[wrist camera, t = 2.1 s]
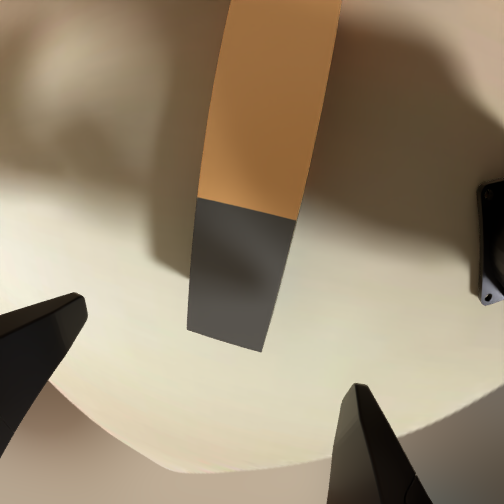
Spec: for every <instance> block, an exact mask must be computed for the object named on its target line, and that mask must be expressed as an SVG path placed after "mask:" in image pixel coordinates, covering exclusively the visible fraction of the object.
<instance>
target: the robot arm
mask: <svg viewBox="0 0 504 504" xmlns="http://www.w3.org/2000/svg"><path fill="white" fill-rule="evenodd" d="M487 190H489V195H488V197H487V198H485V192H486V191H487ZM477 200H478V212H479V229H480V277H479V295H478V297H479V300H480V301H481V303H482V304H483V305H485V306H486V305H490V304H493V303H496V302H498V301H501V300H504V178H500V179H496V180H491V181H487V182H483V183H481V184H480V185H479V187H478V190H477ZM487 294H489V295H488V296H487V297H486V295H487ZM87 318H88V312H87V308H86V302H85V298H84V297H83V296H82V295H80V294H78V293H75V292H73V293H70V294H66V295H63V296H60V297H57V298H53V299H50V300H47V301H44V302H40V303H37V304H34V305H31V306H27V307H24V308H21V309H18V310H15V311H11V312H8V313H5V314H2V315H0V458H1V456H2V454H3V452H4V450H5V449H6V447H7V445H8V443H9V442H10V440H11V438H12V436H13V435H14V432H15V431H16V429H17V428H18V426H19V424H20V423H21V421H22V419H23V418H24V416H25V414H26V413H27V411H28V410H29V408H30V407H31V405H32V404H33V402H34V400H35V399H36V397H37V396H38V394H39V393H40V391H41V390H42V388H43V387H44V385H45V384H46V382H47V381H48V380H49V378H50V377H51V375H52V374H53V372H54V371H55V369H56V368H57V367H58V365H59V364H60V362H61V361H62V360H63V358H64V357H65V355H66V354H67V352H68V351H69V349H70V348H71V346H72V344H73V342H74V341H75V339H76V337H77V336H78V334H79V332H80V331H81V329H82V327H83V326H84V324H85V322H86V321H87ZM327 504H433V503H432V501H431V500H430V498H429V496H428V495H427V493H426V491H425V489H424V487H423V486H422V484H421V482H420V480H419V478H418V476H417V475H416V472H415V471H414V469H413V467H412V465H411V463H410V461H409V459H408V457H407V455H406V454H405V452H404V450H403V448H402V446H401V444H400V443H399V441H398V439H397V437H396V435H395V433H394V432H393V430H392V428H391V426H390V424H389V423H388V421H387V419H386V417H385V415H384V414H383V412H382V410H381V408H380V406H379V405H378V403H377V401H376V399H375V398H374V396H373V394H372V392H371V391H370V389H369V387H368V386H367V385H365V384H359V383H354V384H353V385H352V386H351V388H350V389H349V391H348V392H347V394H346V395H345V397H344V398H343V400H342V403H341V408H340V414H339V420H338V425H337V430H336V435H335V440H334V445H333V453H332V464H331V473H330V482H329V490H328V498H327Z"/></svg>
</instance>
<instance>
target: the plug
mask: <svg viewBox="0 0 504 504" xmlns="http://www.w3.org/2000/svg"><path fill="white" fill-rule="evenodd" d="M341 3H342V0H231V2H230V6H229V11H228V15H227V19H226V24H225V29H224V33H223V38H222V43H221V48H220V53H219V58H218V63H217V68H216V73H215V79H214V84H213V90H212V96H211V102H210V108H209V114H208V120H207V127H206V133H205V140H204V147H203V155H202V162H201V170H200V178H199V186H198V194H197V203H196V213H195V222H194V233H193V243H192V255H191V267H190V281H189V296H188V314H187V330H189V331H192V332H195V333H198V334H201V335H205V336H208V337H211V338H214V339H217V340H220V341H224V342H227V343H230V344H233V345H237V346H240V347H244V348H247V349H251V350H254V351H258V352H262V349H263V345H264V342H265V338H266V335H267V332H268V328H269V325H270V321H271V318H272V314H273V311H274V307H275V304H276V300H277V296H278V293H279V289H280V285H281V281H282V278H283V274H284V270H285V266H286V262H287V259H288V255H289V251H290V247H291V243H292V239H293V235H294V231H295V227H296V223H297V219H298V215H299V210H300V206H301V202H302V198H303V194H304V189H305V185H306V181H307V176H308V172H309V168H310V163H311V159H312V154H313V150H314V145H315V140H316V136H317V131H318V126H319V122H320V117H321V112H322V107H323V102H324V97H325V92H326V87H327V82H328V77H329V72H330V66H331V61H332V56H333V50H334V44H335V39H336V33H337V27H338V21H339V15H340V9H341Z"/></svg>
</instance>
